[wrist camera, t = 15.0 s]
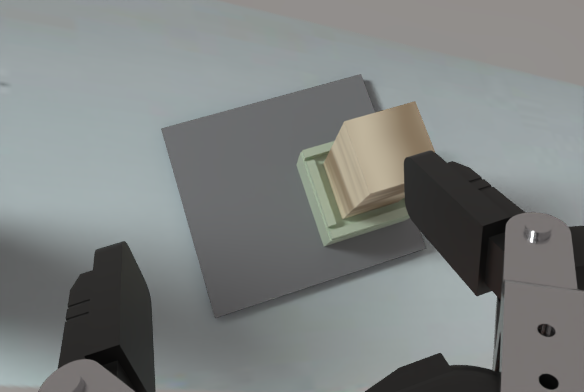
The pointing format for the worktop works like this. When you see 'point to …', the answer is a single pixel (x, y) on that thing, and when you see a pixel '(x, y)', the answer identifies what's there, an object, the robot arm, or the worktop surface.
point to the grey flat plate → (270, 197)
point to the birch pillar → (374, 158)
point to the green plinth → (326, 206)
